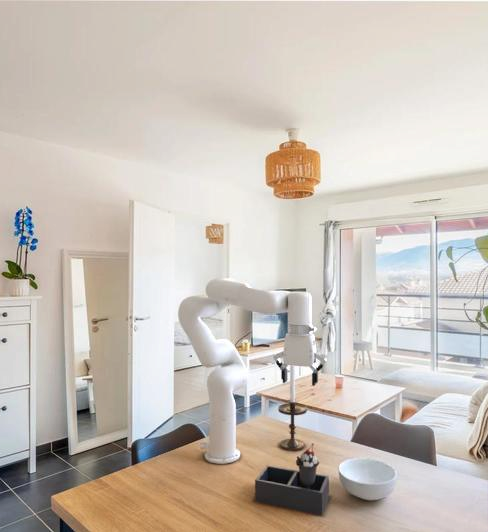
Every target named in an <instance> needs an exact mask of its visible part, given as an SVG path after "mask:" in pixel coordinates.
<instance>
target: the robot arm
mask: <svg viewBox="0 0 488 532" xmlns="http://www.w3.org/2000/svg"><path fill="white" fill-rule="evenodd" d="M230 305H231V306H236V307H241V308H242V309H243V310H247V311H250V312H254V313H259V314H262V315H275V314H285V313H287V333H286V334H285V337H284V343H283V350H282V351H280V352H278V353H276V354H274V355H273V359H274V362H275V364H276V365H277V367H278V368H279V370H280V371H281V372H280V373H281V374H280V376H281V377H280V378H281V380H282V384H285V383H287V382H288V366H291V365H293V366H295V367H305V368H306V367H307V368H308V367H309V368H310V369H311V370H312V373H311V386H312V387H315V386H316V385H317V383H319V372H320V371H321V370H322V369H323V368H324V366H325V365H326V363H327V358H325V357H324V356H322V355H321V354H319V353H318V352H317V347H316V338H315V335H314V334H313V332H316V331H317V327H316V326H313V325H312V295H311V293H310V292H309V291H288V290H264V289H259V288H254V287H251V286H250V284H249V283H247V282H242V281H237V280H235V279H233V278H228V277H227V278H226V277H225V278H222V277H221V278H213V279H211V280H210V281H208V282H207V284H206V286H205V294H203V295H191V296H187V297H186V298H184V299H183V300H182V301H180V303H179V306H178V311H177V317H178V323H179V325H180V326H181V328H182V330H183V332H184V333H185V334H186V336H187V338H188V340H189V342H190V344H191V346H192V349H193V351H194V353H195V355H196V357H197V358H198V361H199V363H200V364H201V365H202V366H203V367H204V368H207V369H209V368H214V367H217V368H215V369H214V370H211V372H210V373H209V375H208V376H207V379H206V387H207V392H208V403H209V405H208V406H209V417H208V418H209V430H208V431H209V433H208V435H209V436H208V437H209V440H208V441H207V440H201V441H200V442H199V443H200V445H199V448H200V449H202V450H205V453H204V458H205V460H206V461H207V462H209V463H212V464H215V465H216V464H217V465H224V464H225V465H226V464H231V463H234V462H236V461H238V460H239V459H240V458H241V451H240V450H239V449H238V448H237V405H236V401H235V398H234V395H233V394H234V393H233V392H236V391H238V390H241V389H243V388H244V387H245V386H247V384H248V382H249V371H248V369H247V366H246V365H245V363H244V361H243V359H242V357H241V355H240V353H239V351H238V350H237V348H236V346H235V345H234V344H233V343H232V341H230V340H229V339H226V338H219V339H216V338H215V337H214V335H213V334H212V331H211V329H210V327H209V326H208V325H207V324H206V323H205V322H204V321H203V320H202V319H201V318H208V317H215V316H217V315H218V314H220V313H221V312H222V311H224V310H225V309H226V308H228V307H229V306H230ZM281 357H282V359H283V362H282V361H281V359H280V358H281ZM317 360H318V361H320V363H319V365H317V364H316V363H317ZM218 366H220V367H218Z"/></svg>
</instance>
